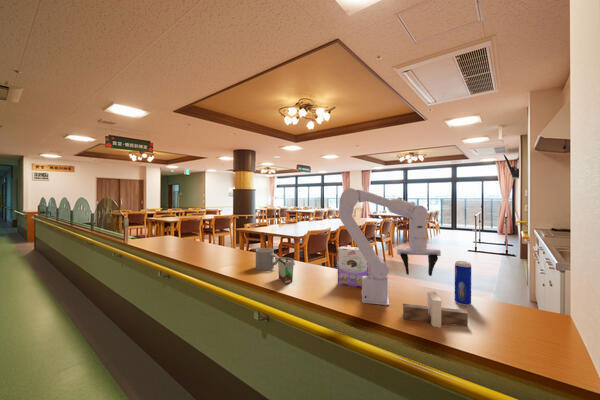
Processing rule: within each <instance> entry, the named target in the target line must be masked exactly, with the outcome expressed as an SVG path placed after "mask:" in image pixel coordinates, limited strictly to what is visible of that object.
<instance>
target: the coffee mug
mask: <svg viewBox="0 0 600 400" xmlns="http://www.w3.org/2000/svg"><path fill="white" fill-rule="evenodd" d="M278 257H279V256H278V255H277V254H276V253H275V250H274V248H271V247H262V248H256V249H255V269H256V270H257V271H270V270H273V269H274V268H275V266H277V264H278Z"/></svg>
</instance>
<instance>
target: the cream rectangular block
mask: <svg viewBox="0 0 600 400" xmlns="http://www.w3.org/2000/svg"><path fill="white" fill-rule="evenodd" d="M427 307H428V312H429V313H430V316H431V322H430V324H431V326H433V328H440V327H441V328H442V323H441V308H442V300H441V298H440V296H439V294H438V293H437V291H433V290H427Z"/></svg>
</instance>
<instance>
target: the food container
mask: <svg viewBox="0 0 600 400" xmlns="http://www.w3.org/2000/svg"><path fill="white" fill-rule="evenodd" d="M277 264H278V280H279V281H281V282H282V283H283V284H284V285H290V284H291V283H292V282H293V279H294V278H293V277H294V266H295V265H296V262H295V260H294V258H292V257H286V256H285V257H284V256H283V257H279V256H278V263H277Z"/></svg>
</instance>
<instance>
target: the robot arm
mask: <svg viewBox="0 0 600 400" xmlns="http://www.w3.org/2000/svg"><path fill="white" fill-rule="evenodd" d="M366 202H369V203H372V204H374V205H379V206H381V207H385V208H387V210H388V212H389V213H391V214H395V215H398V216H401V217H404V218H408V219H409V220H408V221H409V224H408V227H409V228H408V229H409V233H408V234H409V238H408V239H409V248H396V254H397V255H398V256H400V258H401V260H402V262H403V265H404V268H405V274H406V276H409V274H410V270H409V256H408V255H411V256H427V259H428V262H427V263H428V276H430V277H432V276H433V271H434V267H435V265H436V263H437V261H438V260H439V257H441V256H442V253H441V250H440V249H435V248H433V249H432V248H428V246H427V244H428V243H427V241H428V240H427V220H428V218H429V216H430V214H429V212H428V209H427V208H426V207H424V206H423V205H420V204H418V205H417V204H416V202H414V201H411V202H410V201H407V200H404V199H403V197H400V196H399V197H393V198H391V199H390V198H386V197H385V196H384V197H383V196H381V195H377V194H375V193H372V192H370V191H366V190H363V189H362V190H361V189H356V188H352V187H349V188H346V189H344V190H343V192H342V193H341V194H340V198H339V204H338V205H339V206H338V217H339V219H340V221H341V223H342V224H343V226H344V227H345V229H346V231H347V232H348V234H349V236H350V237H351V238H352V240H353V242H354V243H355V245H356V247H358V248H359V250H360V251H361V253H362V255H363V256H364V258H365V260H366V261H367V263H368V268H369V269H370V272H369V274H368V276H363V277H362V288H361V292H360V293H361V302H362V304H370V305H373V304H374V305H381V306H389V305H390V301H389V296H388V294H389V291H388V287H389V286H388V283H389V282H388V279H389V278H388V274H389V267H388V265H387V264H386V263H385V262H384V260H383V259H382V258H381V257H379V255H377V253H376V252H375V250H374V249H373V247H372V244H370V242H369V241H368V238H367V237H366V236H365V235H364V232H363V231H362V230H361V228H360V227H359V225H358V223H357V222H356V220H355V218H354V216H353V212H354V209H355V206H356V205H357V204H358V203H366Z"/></svg>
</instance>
